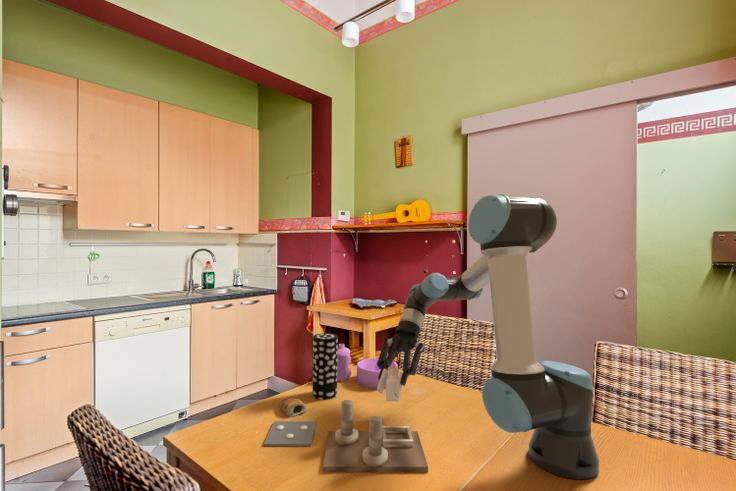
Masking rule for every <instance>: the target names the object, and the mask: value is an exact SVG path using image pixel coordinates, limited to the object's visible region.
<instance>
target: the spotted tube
mask: <svg viewBox="0 0 736 491" xmlns="http://www.w3.org/2000/svg"><path fill="white" fill-rule="evenodd" d="M338 337H339V336H338V334H336V333H335V334H334V333H329V332H328V333H327V332H326V333H325V332H324V333H317V334H314V335H312V397H313V398H314V399H317V400H320V401H326V400H331V399H335V398H336V397H337V395H338V381H337V353H338V347H339V344H338V342H339V341H338V340H339V338H338Z"/></svg>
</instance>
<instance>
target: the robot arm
mask: <svg viewBox="0 0 736 491" xmlns="http://www.w3.org/2000/svg"><path fill="white" fill-rule="evenodd" d="M557 220H558V219H557V215H556V211H555V209H554V208H553V206H551V204H549V203H548V202H547V201H546V200H544V199H542V198H539V197H535V196H533V197H532V196H519V195H506V194H501V193H500V194H489V195H485V196H483V197H482V198H480V199H478V201H477V202H476V203H475V204H474V206H473V208H472V209H471V211H470V214H469V218H468V226H467V228H468V233H469V235H470V237H471V238H472V240H473V242H475V243H477V244H479V246H480V253H481V254H482V256H481V257H479V258H478V259H477V260H475V262H474V263H472V264H471V265H470V266H469V267H468V268H467V269H466V270H465V271H463V272H462V274H460V275H459V276H457V277H456V276H455V277H446V276H445V275H444V274H441V273H439V272H432V273H431V274H429V275H428V276H427V277H425V278H424V279H423V280H422V281H421V282H420V283H418V284H414V285H412V286H411V287H410V290H409V292H408V295H407V298H406V301H405V304H404V307H403V309H402V313H401V314H400V315H401V316H400V318H399V321H398V323H397V326H396V329H395V333H394V335H393V336H392V337H391V338H387V337H384V338H383V345H382V349H381V351H380V353H379V355H378V356H379V357H378V358H379V359H378V361H377V366H378V367H379V369H381V371H380V373H379V376H378V379H379V380H380V381H379V384H378V387H377V389H376V390H377V391H378V393H380V394H383V392H384V386H385V383H386V379H387V377H388V371H387V370H388V367H390V365H391V364H392V362H393V361H394V362H395V359H396V357H397V356H398V355H400V353H402V352H403V366H402V367H403V368H402V371H399V374H398V380H397V383H396V386H395V389H394V394H395V395H396V397H399V394H400V395H401V391H402V388H403V387H404V386H406V385H407V384H406V383H407V380H408V378H409V376H416V372H417V369H418V366H419V362H420V359H421V355H422V353H423V352H424V350H426V348H425V346H424V344H423V343H422V342H419V341H418V340H419V335H420V333H421V329H422V326H423V323H424V319H425V317H426V314H427V311H428V308H430V307H431V306H432V305H434V304H435V303H436V302H447V301H464V300H465V301H468V300H469V301H471V300H473V299H474V300H476V299H479V298H480V297H481V295H482V293H483V288H484V287H485V286H486V285H487V284H489V286H490V294H491V295H490V297H491V306H492V307H491V308H492V310H491V311H492V319H493V329H494V330H493V332H494V342H495V343H494V344H495V354H496V360H495V361H494V363H493V364H492V365H491V366H490V374H491V375H490V378H489V379H487V380H486V381H485V382H484V385H483V386H482V389H481V393H482V394H481V397H482V402H483V405H484V408H485V411H486V412H487V414H488V416H489V417H490V418H491V420H492V421H493V423H494V424H495V426H497V427H498V428H500V429H501V430H502V431H505V432H507V433H510V434H511V433H512V434H515V433H516V434H517V433H527V432H529V431H533V433H532V435H531V437H530V440H529V443H528V455H529V458H530V459H531V461H532V462H533V463H534V464H535V465H537V466H538V467H539V468H540V469H542V470H544V471H546V472H548V473H550V474H553V475H556V476H559V477H562V478H565V479H570V480H571V479H572V480H589V479H592V478H595V477H596V476H598V474H599V471H600V460H599V459H600V458H599V456H598V453H597V450H596V446H595V443H594V441H593V440H594V439H593V437H592V409H593V408H592V404H593V391H594V389H593V382H592V381H593V379H592V376H591V374H590V373H589V372H588V371H586V370H584V369H582V368H580V367H577V366H574V365H572V364H568V363H563V362H559V361H552V360H540V361H539V362H538V360H537V354H536V343H535V336H534V335H535V334H534V324H533V323H534V322H533V314H532V305H531V304H532V302H531V295H530V294H531V293H530V292H531V291H530V284H529V275H528V274H529V273H528V264H527V256H528V254H532V253H535V252H536V251H538V250H539V249H541V248H542V247H543V246H544V245H545V244H547V243H548V242H549V240H551V238H552V237H553V236H554V234H555V232H556V229H557V222H558V221H557ZM392 344H393V345H392ZM390 347H391V350H390ZM414 348H415V349H414ZM413 349H414V352H413V356H412V360H411V354H412V350H413Z"/></svg>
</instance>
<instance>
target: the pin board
mask: <svg viewBox="0 0 736 491" xmlns="http://www.w3.org/2000/svg"><path fill="white" fill-rule="evenodd" d="M340 411H341V414H340V415H341V416H340V420H341V421H340V428H339V429H337V430H328V435H327V439H326V447H325V453H324V459H323V465H322V472H323V473H360V472H361V473H363V472H364V473H419V472H420V473H428V472H429V465H428V462H427V459H426V454H425V452H424V449H423V445H422V442H421V438H420V436H419V431H418V430H411V428H410V427H411V426H410V425H383V418H382V417H380V416H378V415H377V416H376V415H375V416H370V417H369V420H368V421H369V424H368V426H369V427H368V430H358V429H356V428H354V425H353V424H354V401H353V400H350V399H345V400H342V401H341V410H340Z"/></svg>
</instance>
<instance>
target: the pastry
mask: <svg viewBox="0 0 736 491" xmlns="http://www.w3.org/2000/svg"><path fill="white" fill-rule="evenodd" d="M280 408H281V411H282V412H283V413H284V414H285V416H286V417H288V418H293V417H296V416H299V415H301V414H303V413H305V412H306V410H307V406H306V404H305V403H304V401H302V400H301V399H299V398H294V397H292V398H284V399H283V400H281V401H280Z"/></svg>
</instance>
